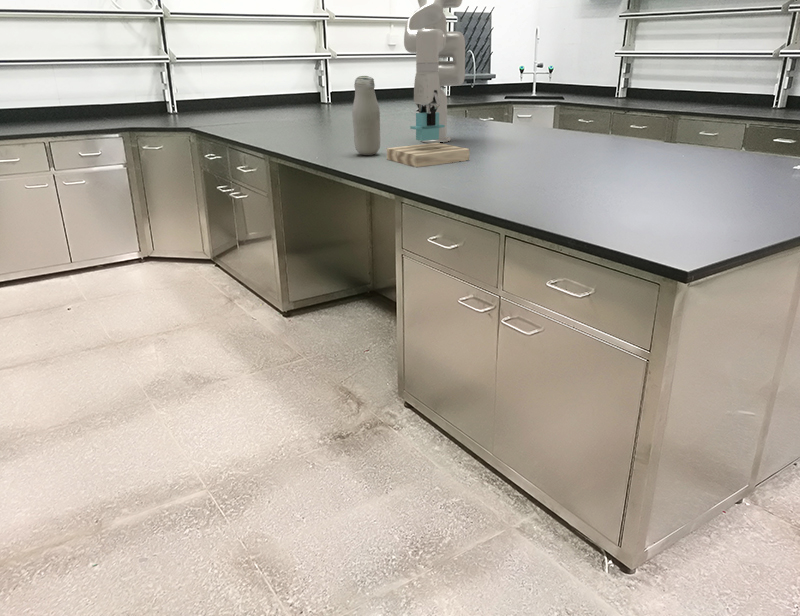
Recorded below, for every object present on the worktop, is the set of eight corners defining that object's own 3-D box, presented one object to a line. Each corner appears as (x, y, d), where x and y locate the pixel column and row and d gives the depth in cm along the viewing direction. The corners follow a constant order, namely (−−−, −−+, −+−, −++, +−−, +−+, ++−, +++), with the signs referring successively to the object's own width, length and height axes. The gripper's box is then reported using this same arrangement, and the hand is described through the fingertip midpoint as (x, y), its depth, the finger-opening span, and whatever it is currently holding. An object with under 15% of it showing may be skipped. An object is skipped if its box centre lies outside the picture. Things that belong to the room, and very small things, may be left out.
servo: (410, 140, 219) (410, 111, 216) (438, 137, 225) (438, 108, 221) (416, 141, 216) (416, 111, 212) (444, 138, 222) (444, 109, 218)
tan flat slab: (386, 159, 226) (386, 148, 225) (437, 153, 237) (437, 142, 235) (416, 167, 210) (416, 155, 209) (469, 160, 221) (469, 149, 219)
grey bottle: (382, 152, 240) (379, 74, 230) (378, 157, 231) (376, 76, 220) (356, 152, 241) (353, 75, 231) (352, 157, 232) (348, 76, 221)
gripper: (405, 68, 217) (405, 123, 224) (431, 69, 203) (431, 127, 210) (423, 68, 220) (423, 122, 227) (450, 68, 207) (450, 126, 214)
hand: (427, 124), depth 219 cm, fingers closed on servo, 4 cm apart
